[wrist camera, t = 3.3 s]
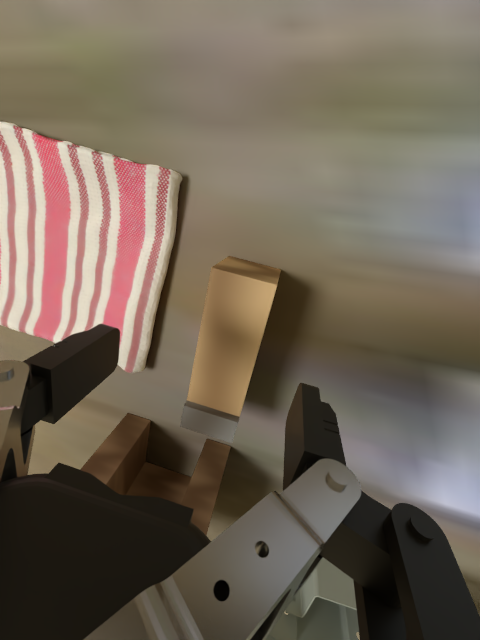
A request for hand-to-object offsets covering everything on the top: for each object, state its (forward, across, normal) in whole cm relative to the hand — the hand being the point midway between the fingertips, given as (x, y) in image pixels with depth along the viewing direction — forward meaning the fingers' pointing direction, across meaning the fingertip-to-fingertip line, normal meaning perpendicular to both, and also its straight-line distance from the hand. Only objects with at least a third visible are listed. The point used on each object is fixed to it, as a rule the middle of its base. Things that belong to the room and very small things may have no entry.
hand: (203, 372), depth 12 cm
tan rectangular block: (+11, 0, +3) cm, 11 cm away
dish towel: (+12, +18, 0) cm, 21 cm away
